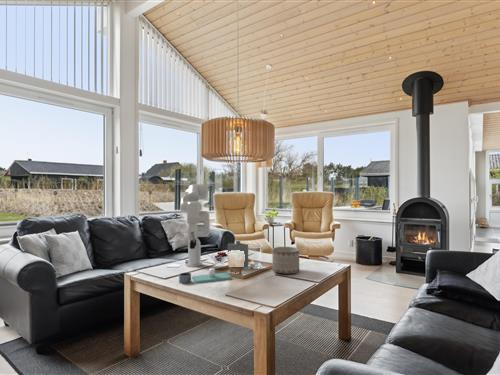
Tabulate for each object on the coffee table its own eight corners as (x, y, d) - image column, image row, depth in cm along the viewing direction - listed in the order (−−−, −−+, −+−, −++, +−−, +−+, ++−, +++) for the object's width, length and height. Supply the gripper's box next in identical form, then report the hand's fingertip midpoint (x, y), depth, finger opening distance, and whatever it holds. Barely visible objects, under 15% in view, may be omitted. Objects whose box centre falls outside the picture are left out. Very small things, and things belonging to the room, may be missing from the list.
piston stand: (192, 278, 218) (192, 268, 218) (226, 274, 227) (226, 265, 227) (196, 283, 207) (196, 273, 207) (231, 279, 216) (231, 269, 216)
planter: (298, 268, 242) (298, 246, 242) (300, 276, 223) (300, 252, 223) (272, 268, 244) (272, 246, 244) (272, 275, 225) (272, 251, 224)
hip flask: (227, 267, 247) (227, 241, 247) (228, 265, 251) (228, 240, 251) (247, 267, 245) (247, 241, 245) (248, 266, 249) (248, 240, 249)
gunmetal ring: (178, 280, 212) (178, 273, 212) (189, 279, 215) (189, 272, 215) (180, 284, 205) (180, 276, 205) (191, 282, 208) (191, 275, 208)
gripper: (188, 219, 218) (188, 245, 218) (185, 222, 201) (185, 249, 201) (199, 219, 219) (199, 244, 219) (197, 222, 202) (197, 249, 202)
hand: (193, 247), depth 210 cm, fingers open, 9 cm apart
